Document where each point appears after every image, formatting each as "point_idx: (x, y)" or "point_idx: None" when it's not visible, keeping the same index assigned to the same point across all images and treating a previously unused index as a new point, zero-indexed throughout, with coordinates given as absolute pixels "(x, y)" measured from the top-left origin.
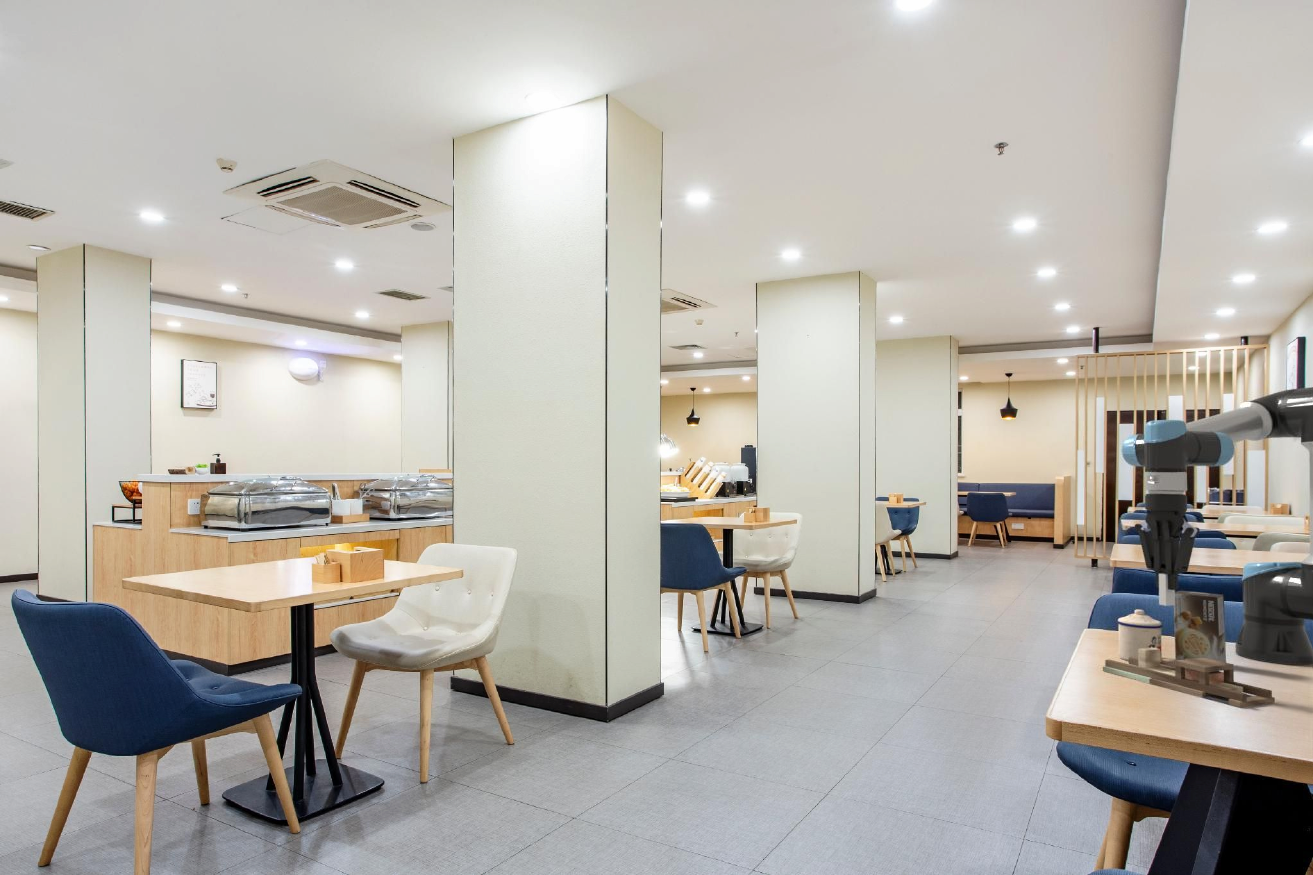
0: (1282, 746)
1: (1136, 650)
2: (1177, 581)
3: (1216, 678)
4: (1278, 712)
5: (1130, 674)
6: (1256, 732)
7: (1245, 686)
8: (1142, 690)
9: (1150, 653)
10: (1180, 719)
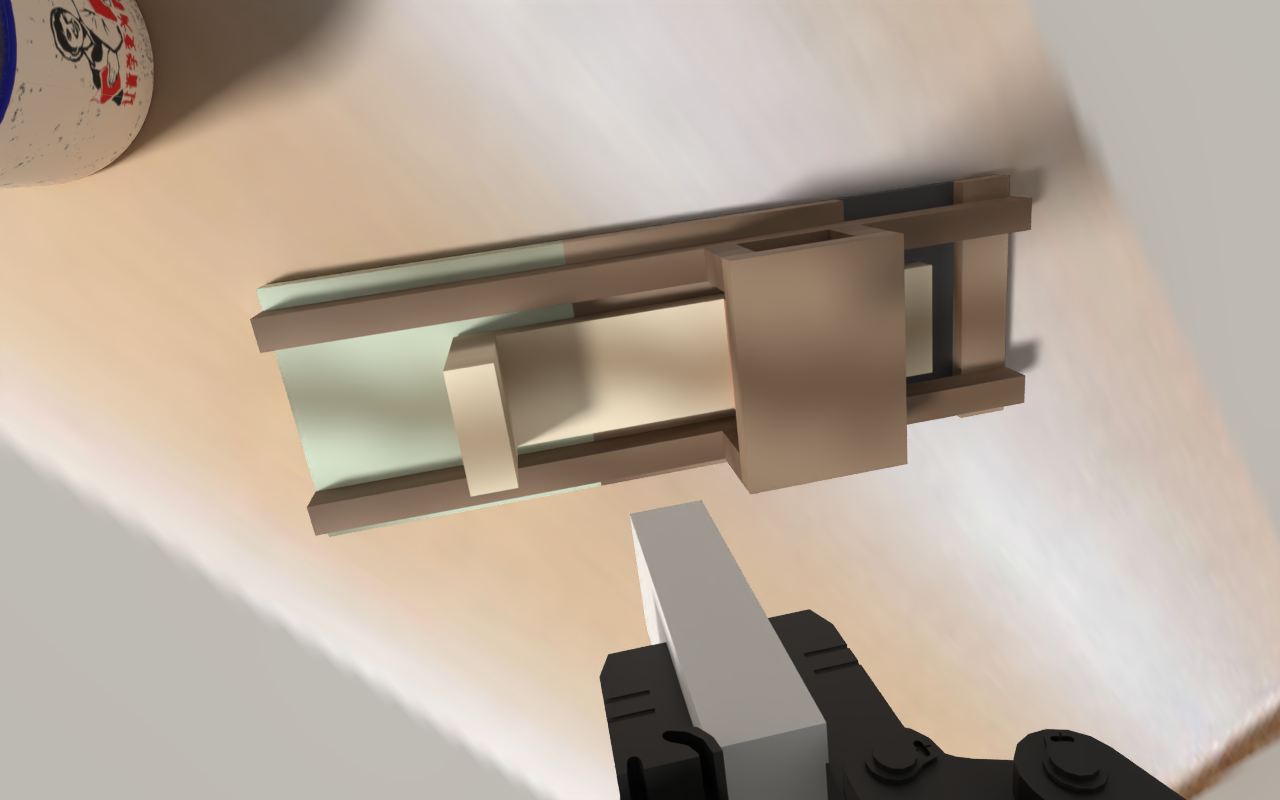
0: (1268, 625)
1: (77, 161)
2: (866, 679)
3: None
4: (1080, 303)
5: (497, 502)
6: (1174, 592)
7: (930, 243)
8: None
9: (510, 437)
10: (1008, 714)
